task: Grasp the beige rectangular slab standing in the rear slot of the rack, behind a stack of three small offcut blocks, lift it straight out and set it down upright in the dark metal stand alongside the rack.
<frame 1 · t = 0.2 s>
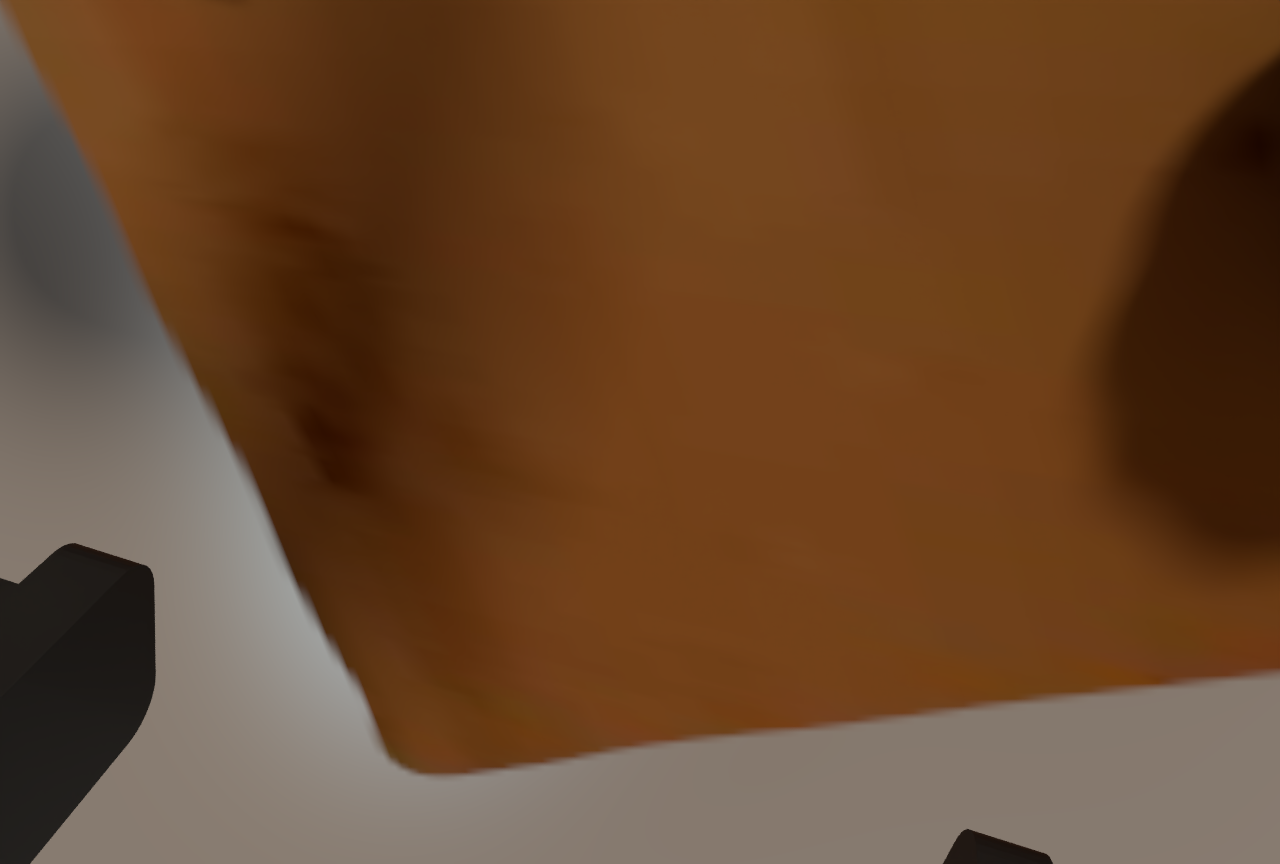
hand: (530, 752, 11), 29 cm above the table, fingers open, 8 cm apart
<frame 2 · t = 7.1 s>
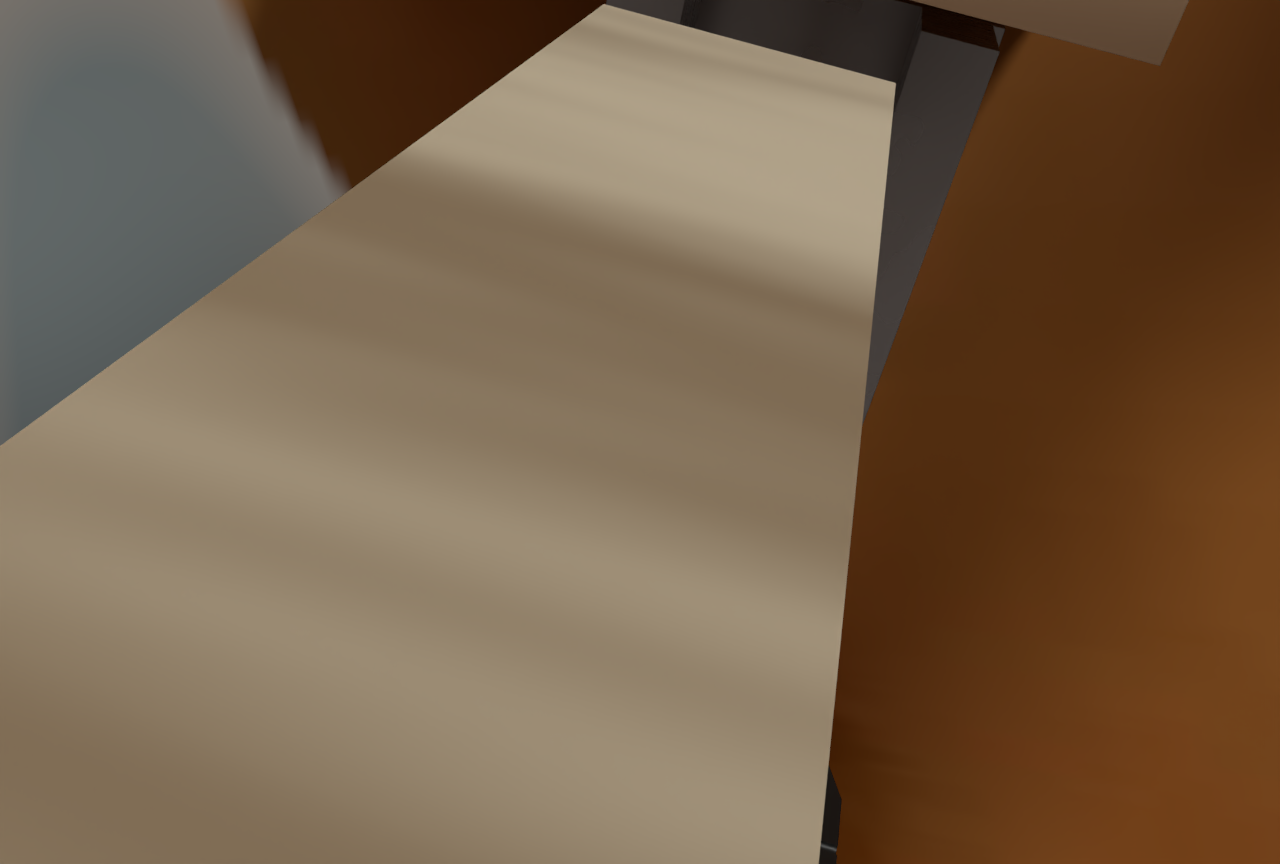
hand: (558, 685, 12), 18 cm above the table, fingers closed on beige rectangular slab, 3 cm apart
stand: (765, 170, 27), on the table
beige rectangular slab: (626, 521, 15), point 15 cm above the table, touching gripper
when the fingers open (6 cm above the table, at t = 10.0 s): beige rectangular slab drops 1 cm, resting on stand.
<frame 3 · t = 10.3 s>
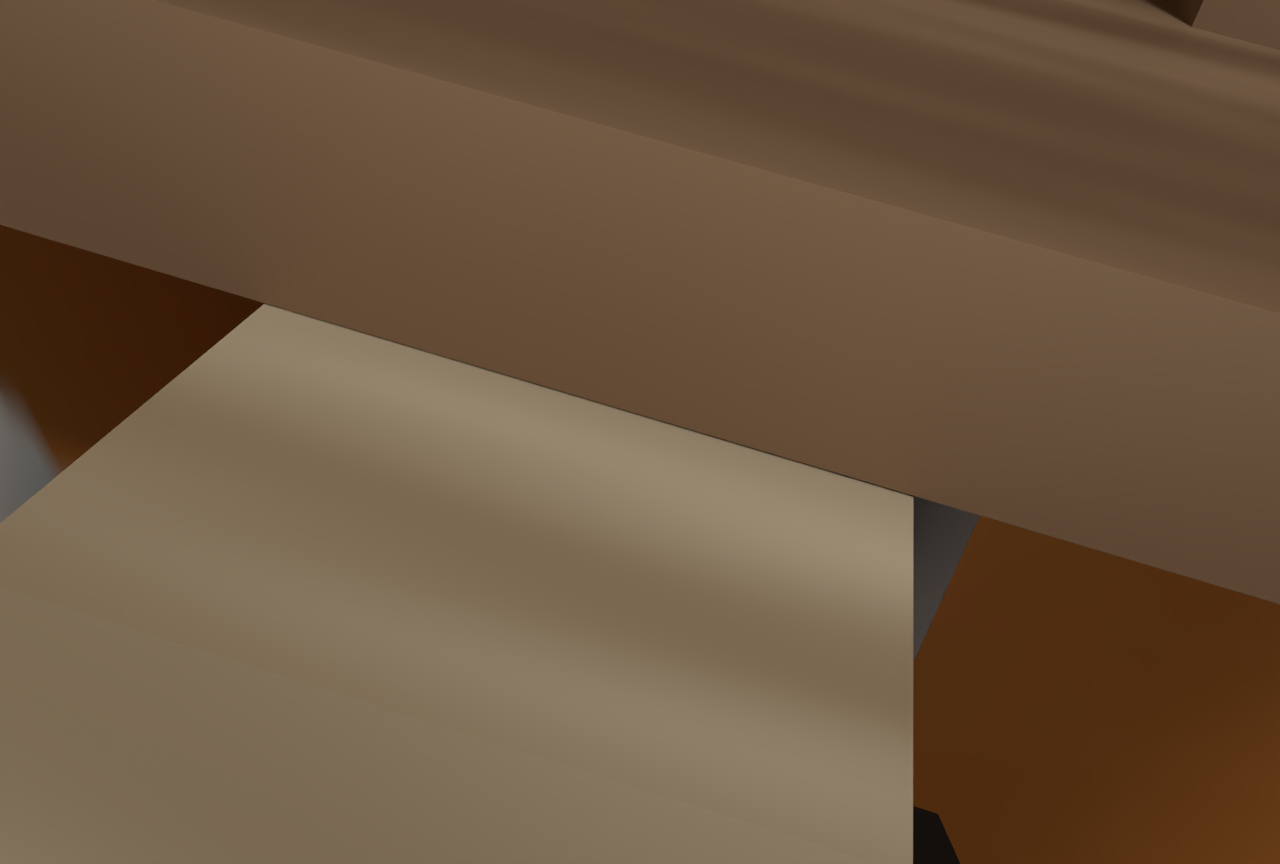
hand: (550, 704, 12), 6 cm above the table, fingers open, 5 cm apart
stand: (662, 424, 17), on the table
beige rectangular slab: (661, 464, 16), point 1 cm above the table, touching stand
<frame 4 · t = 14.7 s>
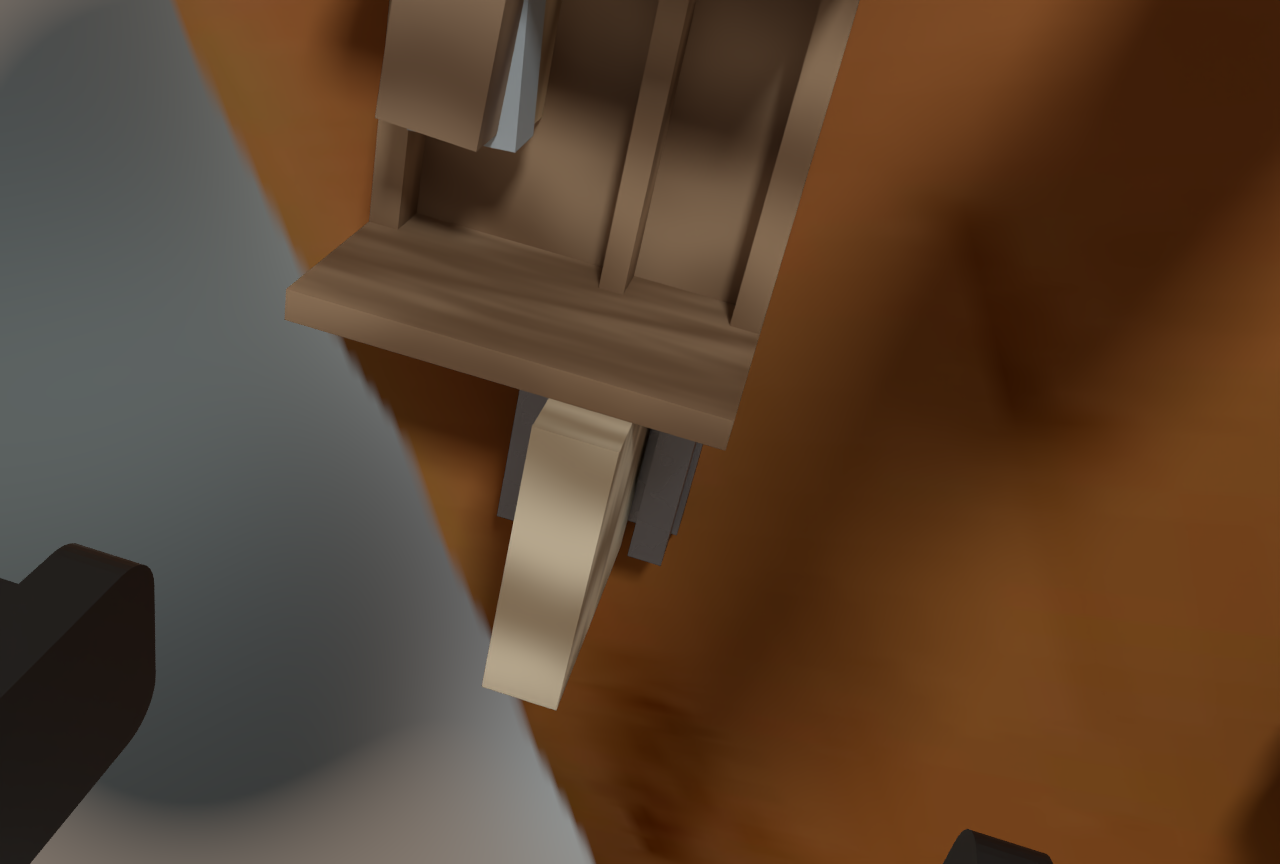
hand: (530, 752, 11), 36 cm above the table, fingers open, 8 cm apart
offcut 1: (504, 23, 43), point 1 cm above the table, touching offcut 2, rack
rack: (615, 74, 44), on the table
offcut 2: (486, 41, 41), point 3 cm above the table, touching offcut 1, offcut 3
offcut 3: (461, 44, 39), point 5 cm above the table, touching offcut 2
stand: (616, 416, 52), on the table
beige rectangular slab: (615, 429, 51), point 1 cm above the table, touching stand
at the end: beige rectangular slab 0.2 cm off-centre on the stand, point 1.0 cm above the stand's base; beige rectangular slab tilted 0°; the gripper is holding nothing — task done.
